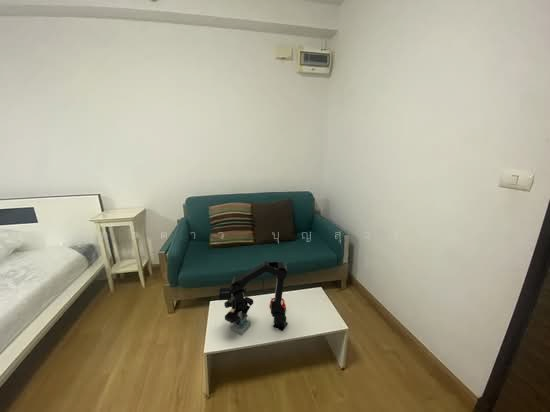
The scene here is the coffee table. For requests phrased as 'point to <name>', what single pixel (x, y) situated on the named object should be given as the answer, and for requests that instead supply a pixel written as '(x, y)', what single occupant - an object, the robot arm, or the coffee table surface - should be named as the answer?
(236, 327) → the stand
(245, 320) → the housing
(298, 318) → the coffee table surface
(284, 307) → the alarm clock
